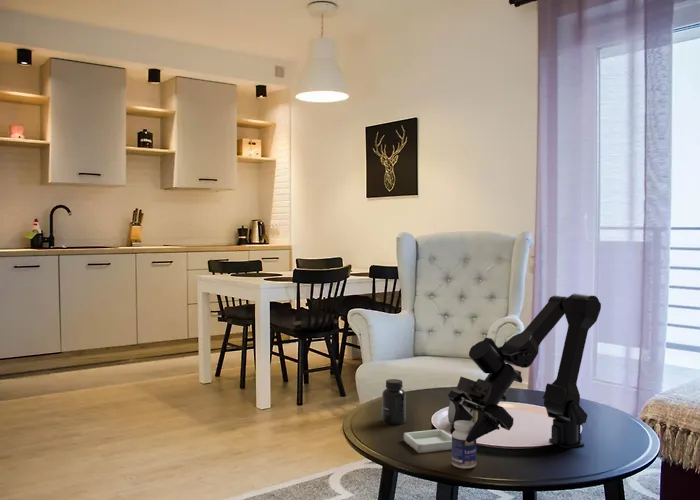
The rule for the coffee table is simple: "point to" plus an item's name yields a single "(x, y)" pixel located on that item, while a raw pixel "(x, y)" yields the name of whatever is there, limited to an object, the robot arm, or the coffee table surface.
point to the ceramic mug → (452, 413)
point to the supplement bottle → (393, 403)
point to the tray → (429, 440)
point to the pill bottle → (463, 445)
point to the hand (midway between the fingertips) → (459, 437)
